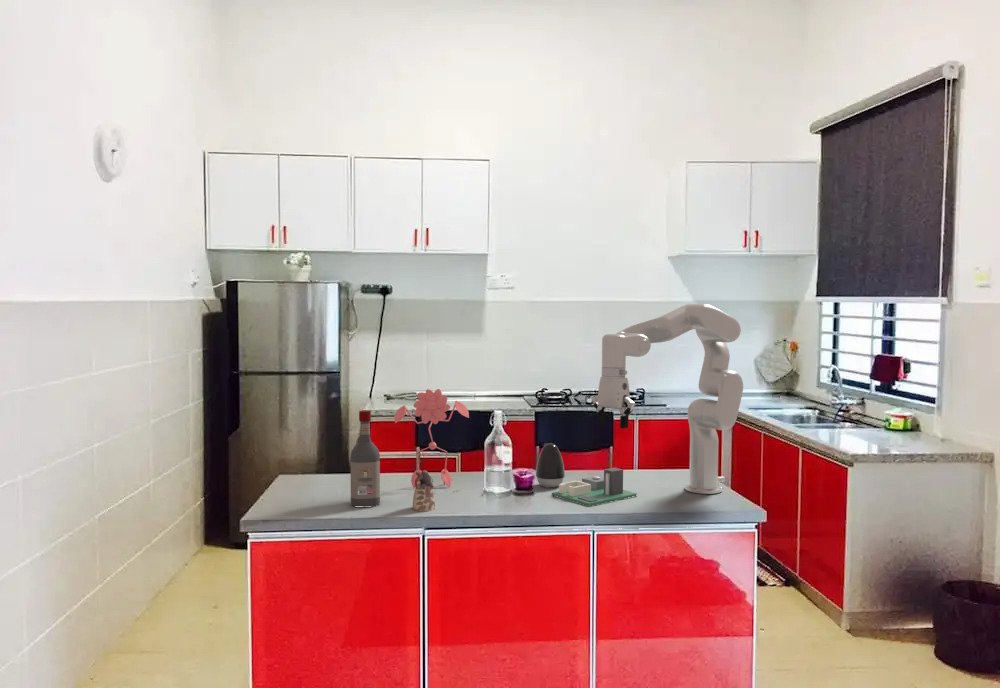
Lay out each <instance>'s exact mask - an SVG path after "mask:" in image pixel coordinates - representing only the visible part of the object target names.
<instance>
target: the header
mask: <svg viewBox="0 0 1000 688" xmlns="http://www.w3.org/2000/svg"><path fill="white" fill-rule="evenodd" d="M558 488H559V490H558V491H559V493H562V494H566V492H568V495H569V496H573V497H575V496H580V495H585V494H590V493H591V484H588V483H584V482H582V481H579V480H573V481H568V482H562V483H561V484H559V486H558Z"/></svg>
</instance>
